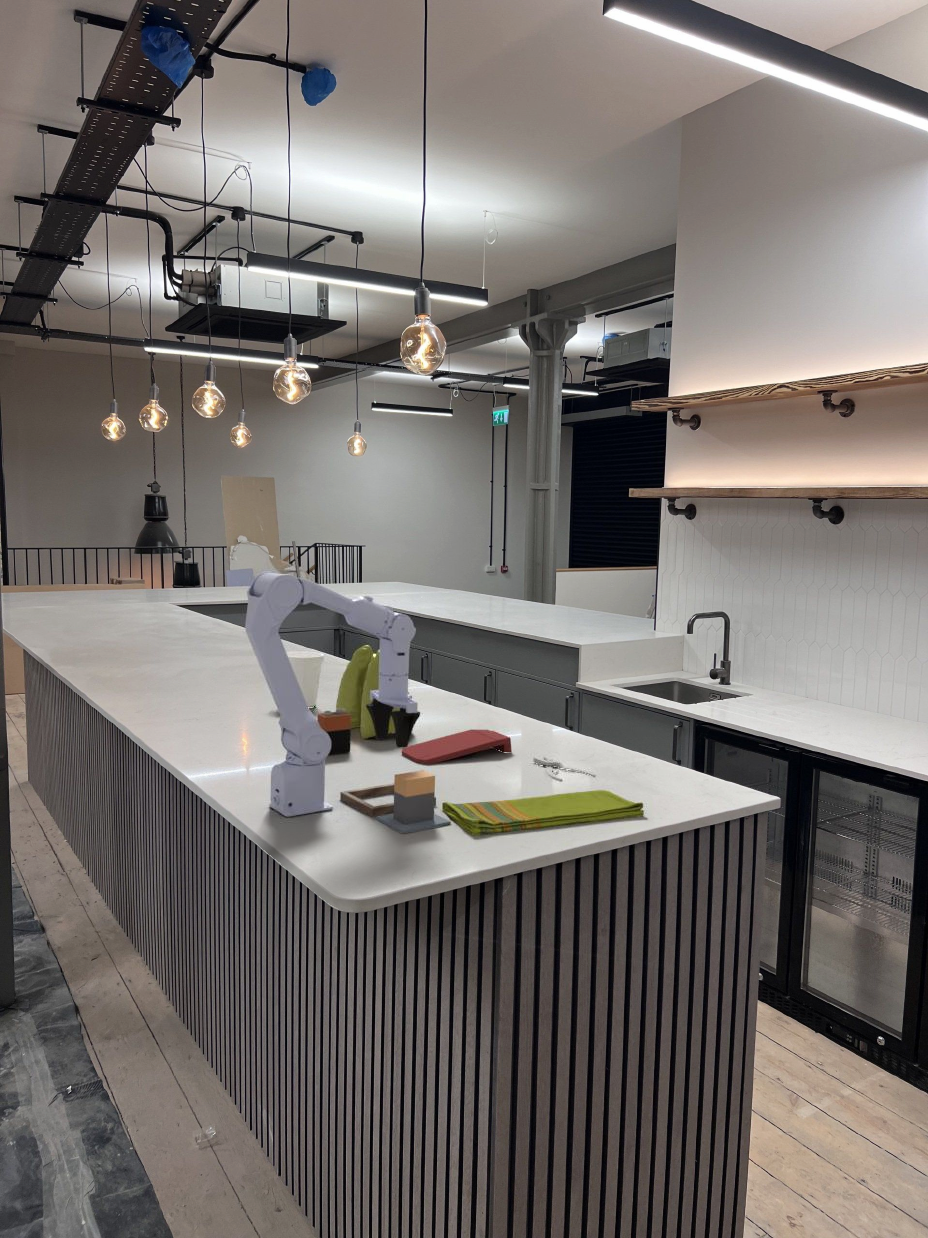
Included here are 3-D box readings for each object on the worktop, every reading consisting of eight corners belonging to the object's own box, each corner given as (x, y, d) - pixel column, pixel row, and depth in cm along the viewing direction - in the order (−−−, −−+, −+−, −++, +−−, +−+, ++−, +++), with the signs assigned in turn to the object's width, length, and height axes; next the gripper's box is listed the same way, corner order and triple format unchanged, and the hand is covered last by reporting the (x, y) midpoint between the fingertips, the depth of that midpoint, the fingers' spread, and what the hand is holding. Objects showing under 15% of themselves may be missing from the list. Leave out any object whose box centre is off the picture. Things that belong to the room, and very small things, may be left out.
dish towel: (438, 812, 166) (439, 795, 166) (602, 796, 180) (602, 780, 180) (471, 839, 152) (472, 821, 152) (646, 819, 166) (647, 803, 166)
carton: (423, 782, 198) (516, 755, 210) (421, 761, 197) (514, 735, 209) (399, 769, 208) (489, 743, 220) (397, 749, 208) (487, 724, 220)
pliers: (559, 775, 188) (521, 758, 201) (559, 783, 188) (521, 765, 201) (596, 771, 193) (557, 755, 206) (596, 778, 193) (556, 761, 206)
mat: (403, 833, 152) (403, 831, 152) (376, 819, 159) (376, 816, 159) (450, 824, 158) (450, 821, 158) (422, 810, 165) (422, 808, 165)
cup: (315, 712, 251) (316, 658, 249) (273, 709, 252) (273, 655, 251) (328, 703, 263) (329, 652, 261) (288, 701, 265) (289, 650, 263)
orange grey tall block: (405, 825, 155) (406, 780, 154) (393, 818, 158) (394, 774, 158) (433, 819, 159) (435, 775, 158) (421, 813, 162) (422, 770, 161)
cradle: (372, 817, 160) (372, 808, 160) (340, 799, 170) (340, 792, 170) (435, 805, 169) (436, 797, 169) (402, 789, 178) (402, 782, 178)
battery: (351, 752, 206) (352, 710, 205) (324, 756, 202) (325, 713, 201) (342, 748, 210) (342, 707, 209) (316, 752, 206) (316, 709, 205)
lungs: (424, 737, 225) (427, 642, 222) (369, 743, 216) (371, 645, 214) (379, 718, 245) (381, 631, 243) (327, 723, 237) (329, 633, 235)
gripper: (431, 678, 169) (429, 748, 170) (391, 667, 180) (389, 733, 182) (400, 680, 164) (398, 752, 166) (361, 669, 176) (359, 736, 177)
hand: (391, 742), depth 173 cm, fingers open, 7 cm apart
